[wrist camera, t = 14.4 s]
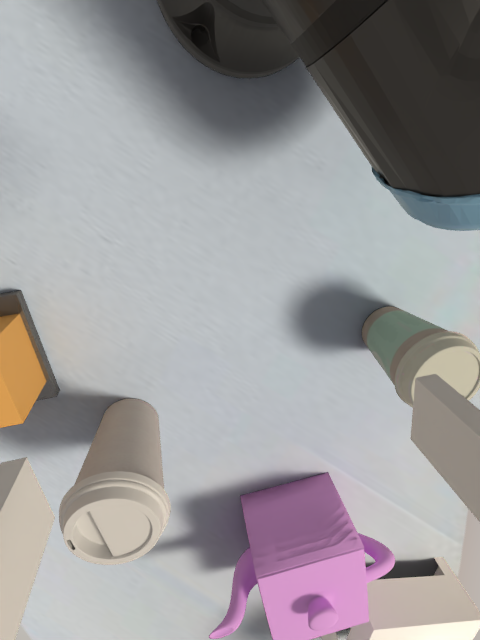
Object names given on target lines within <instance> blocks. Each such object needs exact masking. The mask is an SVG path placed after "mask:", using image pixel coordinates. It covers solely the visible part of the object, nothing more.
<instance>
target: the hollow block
mask: <svg viewBox="0 0 480 640" xmlns="http://www.w3.org/2000/svg"><path fill="white" fill-rule="evenodd" d="M45 383H46V379H45V377H44V374H43V371H42V369H41V366H40V364H39V361H38V359H37V356H36V354H35V351H34V349H33V346H32V343H31V341H30V338H29V336H28V333H27V331H26V328H25V326H24V323H23V321H22V318H21V315H20V313H19V314H13V315H7V316H1V317H0V428H2V427H7V426H12V425H17V424H22V423H24V421H25V419H26V417H27V415H28V414H29V412H30V410H31V408H32V407H33V405H34V403H35V401H36V399H37V398H38V396H39V394H40V392H41V390H42V389H43V387H44V385H45Z"/></svg>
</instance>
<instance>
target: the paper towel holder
mask: <svg viewBox="0 0 480 640" xmlns="http://www.w3.org/2000/svg"><path fill="white" fill-rule="evenodd" d="M434 559H435V560H436V562H437V564H438V565H439V566H438V568H437V570H436V572H435V574H434V576H424V577H409V578H394V579H378V580H373V581H371V582H369V583H367V592H368V609H369V622H366V623H363V624H359V625H356V626H353V627H350V628H351V630H350V632H349V634H348V637H347V639H346V640H473V638H474V636H475V635H476V633H477V631H478V630H479V628H480V611H479V610H478V608H477V607H476V605H475V604H474V602H473V601H472V599H471V598H470V596H469V595H468V593H467V592H466V590H465V589H464V587H463V586H462V585H461V583H460V581H459V580H458V578H457V577H456V575H455V574H454V572H453V571H452V569H451V568H450V566H449V565H448V563H447V562H446V560H445V559H444V557H434ZM321 638H322V640H338V637H337V634H336V632H334V633H330V634H327V635H323V636H321Z"/></svg>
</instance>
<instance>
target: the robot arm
mask: <svg viewBox="0 0 480 640" xmlns="http://www.w3.org/2000/svg"><path fill="white" fill-rule="evenodd" d="M157 1H158V4H159V7H160V9H161V12H162V14H163V16H164V18H165V20H166V22H167V24H168V26H169V27H170V29H171V31H172V32H173V34H174V35H175V37H176V38H177V39H178V41H179V42H180V43H181V44H182V46H183V47H184V48H185V49H186V50H187V51H188V52H189V53H190V54H191V55H192V56H193V57H194V58H196V59H197V60H198V61H199V62H201V63H202V64H204V65H205V66H207V67H209V68H210V69H212V70H214V71H216V72H219V73H221V74H224V75H228V76H231V77H237V78H258V77H263V76H267V75H270V74H273V73H275V72H278V71H280V70H282V69H283V68H285V67H287V66H288V65H290V64H291V63H293V62H294V61H295V60H296V59H298V58H299V57H300V58H301V59H302V61H303V62H304V64H305V66H306V68H307V70H308V71H309V73H310V74H311V76H312V77H313V79H314V80H315V82H316V83H317V85H318V86H319V88H320V89H321V91H322V92H323V94H324V95H325V97H326V98H327V100H328V101H329V103H330V104H331V106H332V107H333V109H334V110H335V112H336V113H337V115H338V116H339V118H340V119H341V121H342V122H343V124H344V125H345V127H346V128H347V130H348V131H349V133H350V134H351V136H352V137H353V139H354V140H355V142H356V143H357V145H358V146H359V148H360V149H361V151H362V152H363V154H364V155H365V157H366V158H367V160H368V161H369V163H370V164H371V166H372V172H373V174H374V175H375V177H376V179H377V180H378V181H379V182H380V184H381V185H383V186H384V187H385V188H387V189H388V190H390V192H391V193H392V194H393V196H394V197H395V198H396V200H397V201H398V202H399V204H400V205H401V206H402V208H403V209H404V210H405V211H406V212H407V213H408V214H409V215H410V216H411V217H413V218H414V219H417V220H419V221H421V222H423V223H425V224H426V225H429V226H432V227H435V228H440V229H446V230H455V231H471V230H480V0H157ZM411 440H412V441H413V442H414V444H415V445H416V446H417V447H418V448H419V450H420V451H421V452H422V453H423V454H424V456H425V457H426V458H427V459H428V460H429V462H430V463H431V464H432V465H433V466H434V468H435V469H436V470H437V471H438V472H439V474H440V475H441V476H442V477H443V478H444V480H445V481H446V482H447V483H448V484H449V486H450V487H451V488H452V489H453V490H454V492H455V493H456V494H457V495H458V496H459V498H460V499H461V500H462V501H463V502H464V504H465V505H466V506H467V507H468V508H469V510H470V511H471V512H472V513H473V514H474V516H475V517H476V518H477V519H478V520H479V521H480V410H479V409H478V408H476V407H475V406H474V405H473V404H472V403H470V402H469V401H468V400H467V399H466V398H464V397H463V396H462V395H461V394H460V393H458V392H457V391H456V390H455V389H454V388H452V387H451V386H450V385H449V384H448V383H447V382H445V381H444V380H443V379H442V378H441V377H439V376H438V375H437V374H432V375H427V376H422V377H417V378H415V389H414V402H413V415H412V428H411ZM54 519H55V516H54V514H53V512H52V510H51V508H50V506H49V504H48V502H47V499H46V497H45V495H44V493H43V491H42V489H41V487H40V485H39V482H38V480H37V478H36V476H35V474H34V472H33V470H32V468H31V465H30V463H29V461H28V459H27V457H26V458H21V459H16V460H12V461H7V462H2V463H1V465H0V640H15V638H16V635H17V632H18V629H19V626H20V623H21V620H22V617H23V614H24V611H25V608H26V605H27V602H28V598H29V595H30V592H31V589H32V586H33V583H34V580H35V577H36V574H37V571H38V568H39V565H40V562H41V559H42V556H43V553H44V550H45V546H46V543H47V540H48V537H49V534H50V531H51V528H52V525H53V522H54Z"/></svg>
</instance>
